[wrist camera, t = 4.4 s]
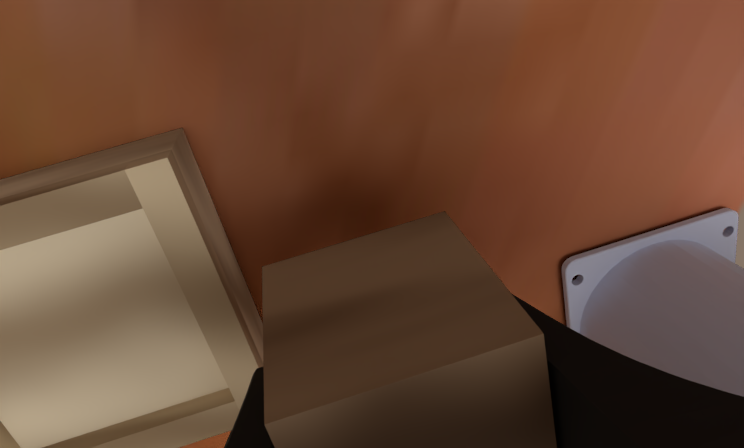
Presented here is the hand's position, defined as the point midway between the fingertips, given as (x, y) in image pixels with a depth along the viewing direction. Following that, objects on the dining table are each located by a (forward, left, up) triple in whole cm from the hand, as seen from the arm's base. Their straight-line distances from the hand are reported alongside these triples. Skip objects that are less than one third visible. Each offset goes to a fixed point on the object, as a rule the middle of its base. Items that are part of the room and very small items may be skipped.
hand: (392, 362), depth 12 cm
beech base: (-1, +9, -9) cm, 13 cm away
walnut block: (0, 0, -2) cm, 2 cm away
